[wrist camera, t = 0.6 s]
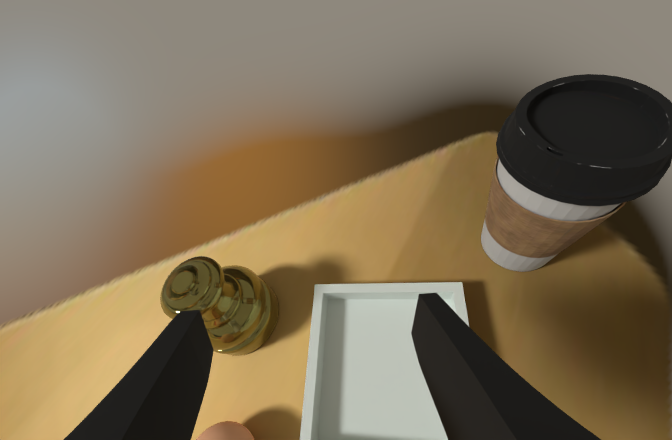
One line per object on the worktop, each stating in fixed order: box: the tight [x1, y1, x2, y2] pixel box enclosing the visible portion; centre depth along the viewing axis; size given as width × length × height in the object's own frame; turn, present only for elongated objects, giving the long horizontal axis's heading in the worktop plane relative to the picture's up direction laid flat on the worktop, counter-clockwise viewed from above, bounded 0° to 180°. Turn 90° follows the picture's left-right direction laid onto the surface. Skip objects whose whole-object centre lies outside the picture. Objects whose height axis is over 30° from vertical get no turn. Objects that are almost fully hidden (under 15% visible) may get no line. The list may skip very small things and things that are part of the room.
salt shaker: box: [160, 256, 279, 356], centre depth 26 cm, size 7×7×10 cm
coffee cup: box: [481, 74, 672, 272], centre depth 22 cm, size 8×8×15 cm
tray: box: [300, 282, 469, 440], centre depth 24 cm, size 13×13×2 cm
